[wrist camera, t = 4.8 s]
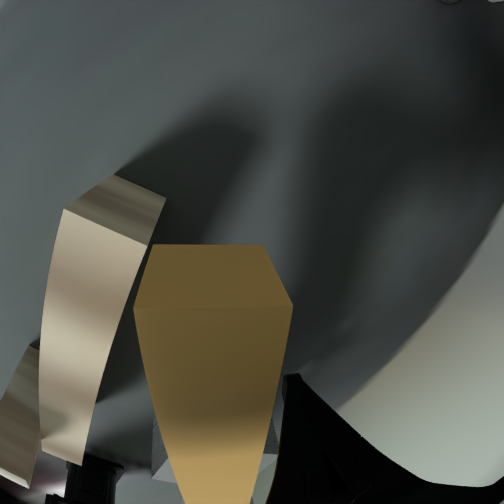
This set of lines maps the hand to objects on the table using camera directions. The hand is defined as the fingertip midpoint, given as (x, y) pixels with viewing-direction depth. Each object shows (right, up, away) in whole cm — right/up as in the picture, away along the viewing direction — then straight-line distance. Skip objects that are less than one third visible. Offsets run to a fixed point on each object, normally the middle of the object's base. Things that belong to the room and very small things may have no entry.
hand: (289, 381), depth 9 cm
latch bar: (-3, -3, +2) cm, 5 cm away
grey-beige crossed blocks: (-12, +1, +6) cm, 14 cm away
